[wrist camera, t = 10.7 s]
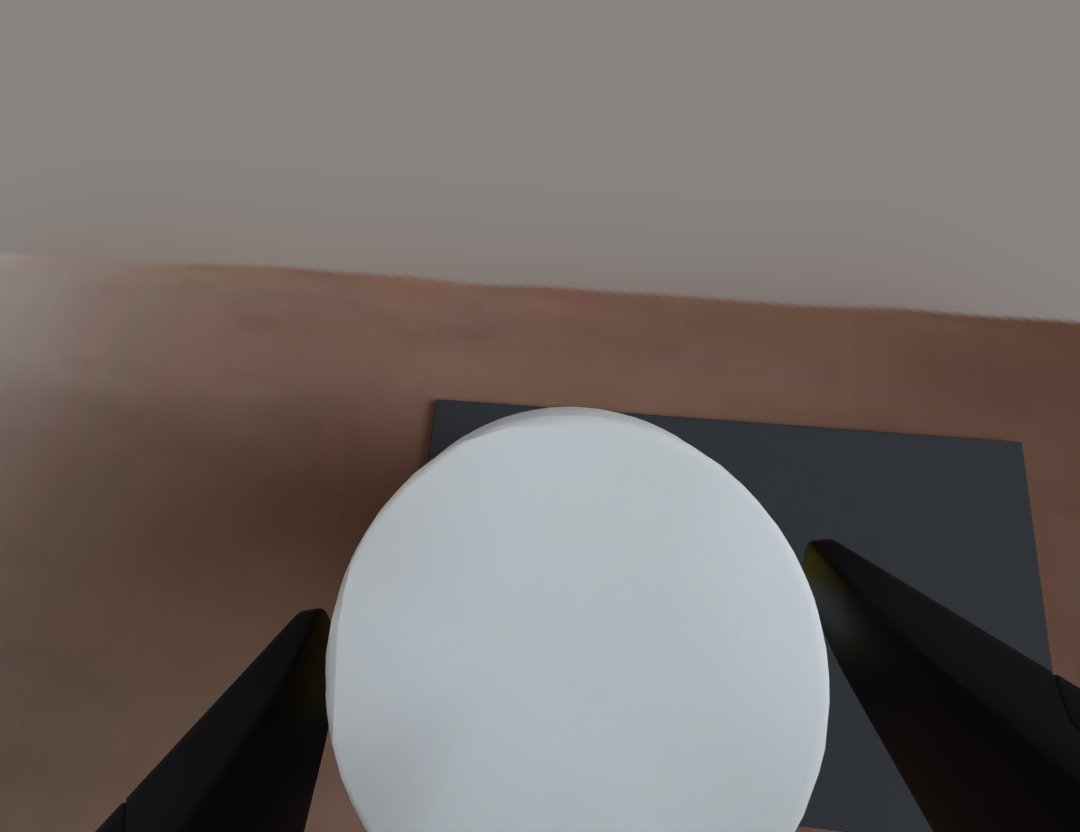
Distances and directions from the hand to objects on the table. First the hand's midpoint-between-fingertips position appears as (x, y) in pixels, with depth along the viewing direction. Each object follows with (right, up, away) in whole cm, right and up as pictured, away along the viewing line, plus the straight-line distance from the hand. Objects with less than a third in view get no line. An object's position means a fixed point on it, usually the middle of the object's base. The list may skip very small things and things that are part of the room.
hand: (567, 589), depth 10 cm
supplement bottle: (0, -2, +8) cm, 8 cm away
